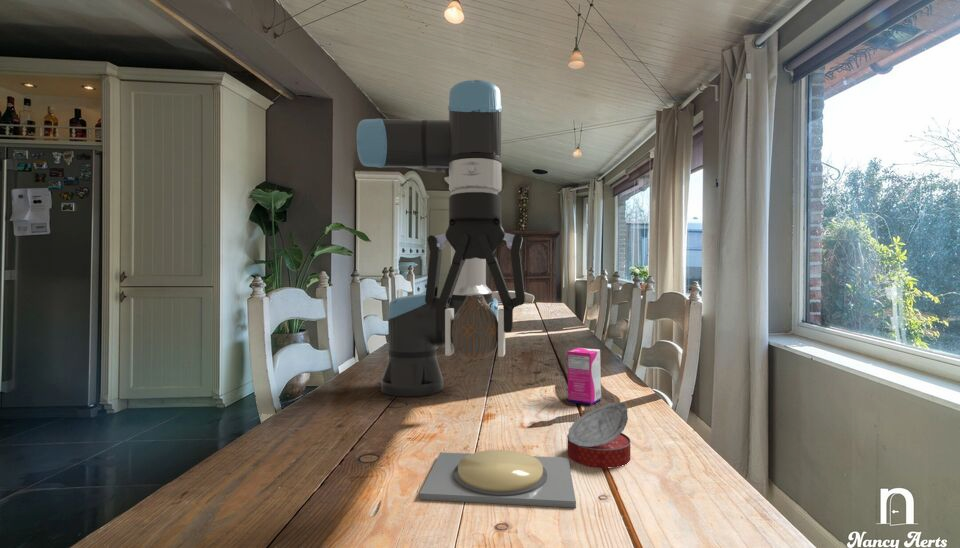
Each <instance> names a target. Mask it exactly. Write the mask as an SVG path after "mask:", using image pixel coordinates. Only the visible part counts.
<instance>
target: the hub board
mask: <svg viewBox="0 0 960 548" xmlns="http://www.w3.org/2000/svg"><path fill="white" fill-rule="evenodd" d="M569 459H570V458H569V457H559V456H558V457H556V456H537V455H536V456H535V455H534V456H533V455H531V454H528V453H525V452H521V451H517V450H510V449H488V450H487V449H486V450H480V451H477V452H476V451H475V452H473V453H465V452H464V453H463V452H461V453H460V452H445V451H443V452H441V451H440V452H439V454H438V456H437V458H436V459H435V462H434V464H433V466H432V468H431V470H430V472H429V473H428V476H427V478H426V480H425V481H424V484H423V486H422V488H421V490H420V492H419V500H422V501H423V500H425V501H444V502H445V501H446V502H464V503H479V504H480V503H481V504H482V503H483V504H498V505H500V504H502V505H518V506H520V505H521V506H537V507H538V506H539V507H555V508H561V507H562V508H571V509H572V508H574V509H575V508H577V500H576V495H575V489H574V483H573V477H572V470H571V466H570V460H569Z"/></svg>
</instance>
